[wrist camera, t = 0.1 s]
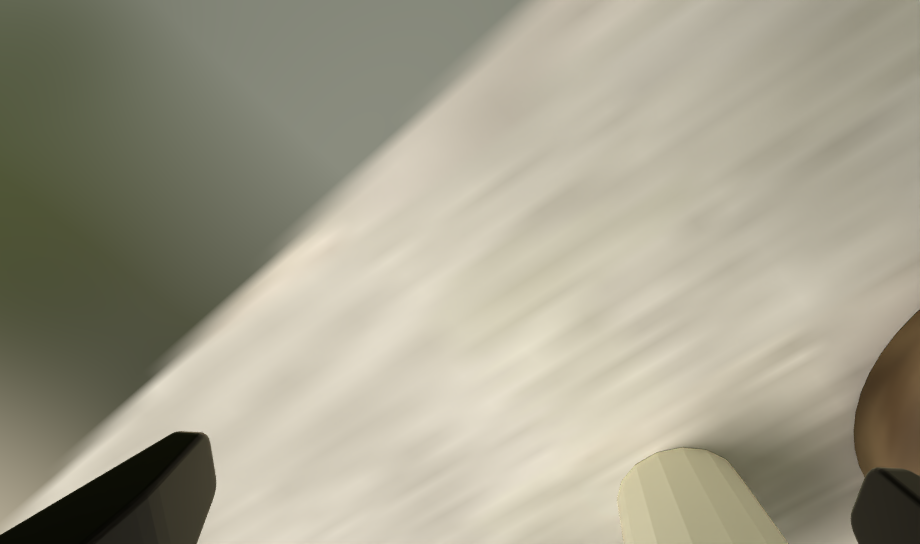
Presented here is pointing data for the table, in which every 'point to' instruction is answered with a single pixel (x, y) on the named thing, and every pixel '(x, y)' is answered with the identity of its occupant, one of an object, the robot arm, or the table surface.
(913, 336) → the walnut pedestal
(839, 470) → the table surface
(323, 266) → the table surface
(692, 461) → the cream short cylinder
